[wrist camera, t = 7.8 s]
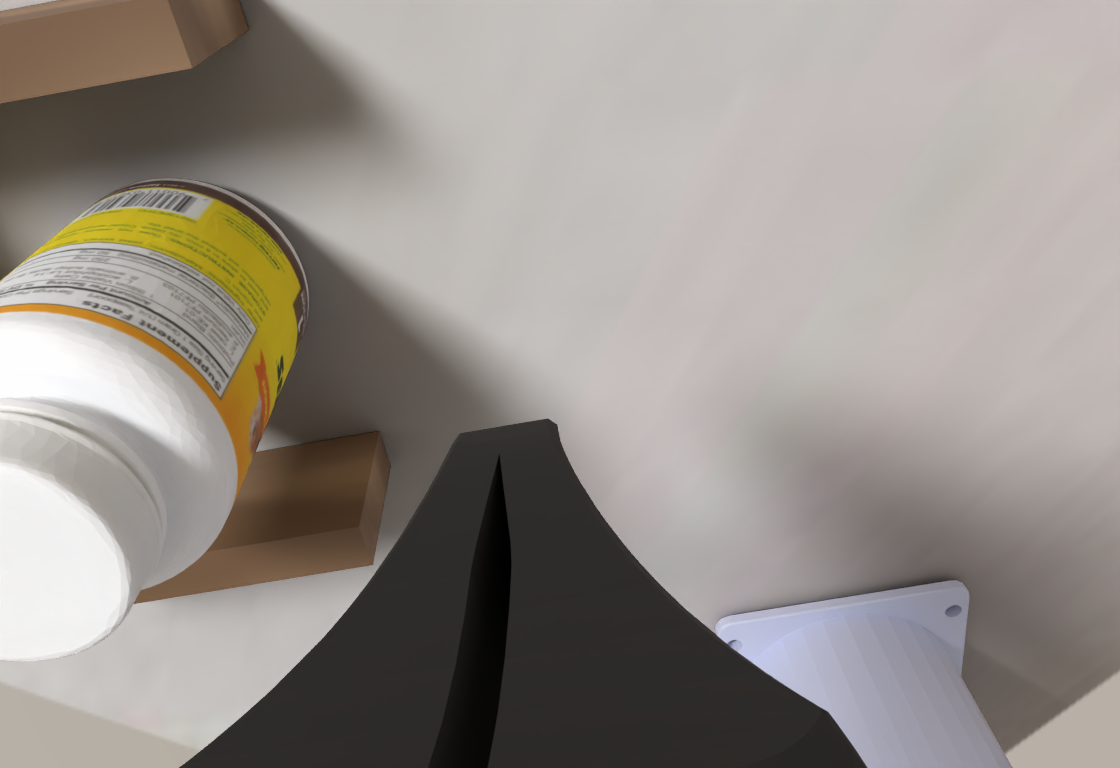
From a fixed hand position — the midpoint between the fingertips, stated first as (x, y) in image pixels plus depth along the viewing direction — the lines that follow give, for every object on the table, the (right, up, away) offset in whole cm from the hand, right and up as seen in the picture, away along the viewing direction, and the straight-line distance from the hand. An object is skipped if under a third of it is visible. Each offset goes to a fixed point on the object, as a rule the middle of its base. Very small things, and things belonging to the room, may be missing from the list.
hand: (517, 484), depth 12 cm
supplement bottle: (-8, +4, +9) cm, 13 cm away
